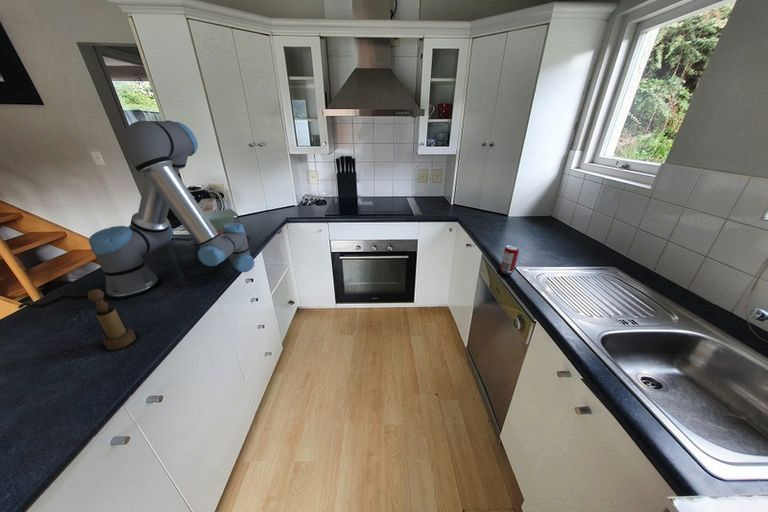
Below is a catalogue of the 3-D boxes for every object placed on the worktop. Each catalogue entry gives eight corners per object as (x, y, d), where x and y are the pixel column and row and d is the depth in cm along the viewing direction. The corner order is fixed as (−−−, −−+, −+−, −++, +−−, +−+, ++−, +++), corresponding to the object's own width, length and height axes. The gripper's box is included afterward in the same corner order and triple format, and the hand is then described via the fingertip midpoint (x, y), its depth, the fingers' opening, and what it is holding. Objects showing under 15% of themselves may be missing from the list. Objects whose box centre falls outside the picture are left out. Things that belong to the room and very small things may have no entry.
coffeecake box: (221, 239, 150) (211, 204, 142) (206, 240, 148) (195, 205, 139) (224, 230, 163) (215, 197, 154) (210, 231, 160) (201, 198, 152)
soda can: (512, 269, 122) (518, 244, 117) (514, 275, 117) (520, 250, 112) (499, 267, 123) (504, 243, 118) (500, 273, 118) (506, 248, 113)
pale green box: (210, 258, 128) (199, 221, 120) (205, 250, 136) (194, 214, 128) (246, 249, 138) (237, 214, 130) (239, 242, 146) (230, 208, 138)
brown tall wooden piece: (141, 334, 83) (116, 283, 75) (124, 350, 77) (95, 297, 69) (119, 334, 83) (91, 284, 75) (99, 350, 77) (67, 297, 69)
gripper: (205, 268, 114) (195, 252, 129) (265, 252, 129) (250, 239, 143) (199, 252, 111) (191, 237, 125) (262, 237, 126) (247, 225, 140)
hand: (222, 238), depth 134 cm, fingers open, 13 cm apart
